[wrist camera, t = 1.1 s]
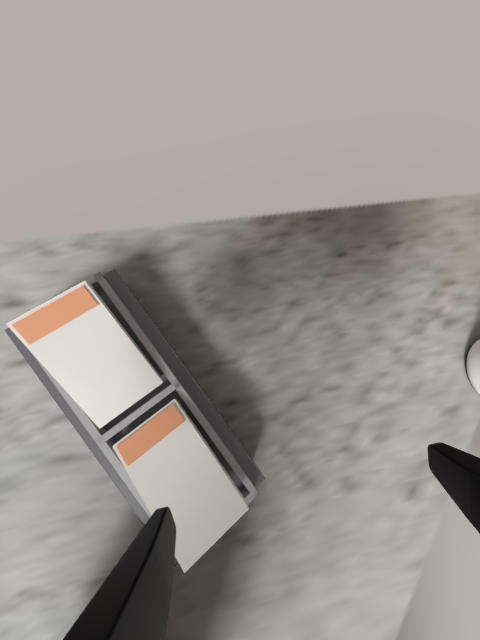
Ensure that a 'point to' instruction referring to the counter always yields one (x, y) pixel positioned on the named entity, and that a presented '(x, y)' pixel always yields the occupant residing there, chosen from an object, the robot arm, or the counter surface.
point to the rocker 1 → (87, 352)
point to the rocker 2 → (182, 480)
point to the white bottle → (474, 366)
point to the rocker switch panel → (148, 400)
